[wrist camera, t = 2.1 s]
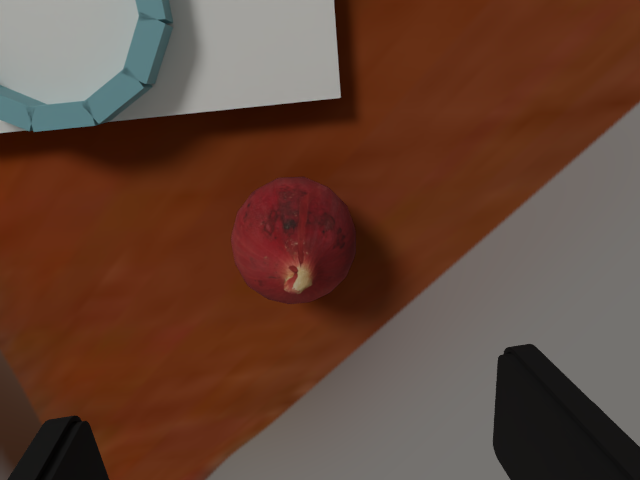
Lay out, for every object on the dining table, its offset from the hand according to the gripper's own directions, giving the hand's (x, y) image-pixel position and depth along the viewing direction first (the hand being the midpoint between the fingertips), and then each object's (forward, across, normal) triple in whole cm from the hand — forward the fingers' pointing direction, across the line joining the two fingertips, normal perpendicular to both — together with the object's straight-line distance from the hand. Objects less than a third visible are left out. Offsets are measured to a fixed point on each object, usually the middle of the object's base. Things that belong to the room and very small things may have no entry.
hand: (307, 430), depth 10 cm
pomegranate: (+15, -1, 0) cm, 15 cm away
